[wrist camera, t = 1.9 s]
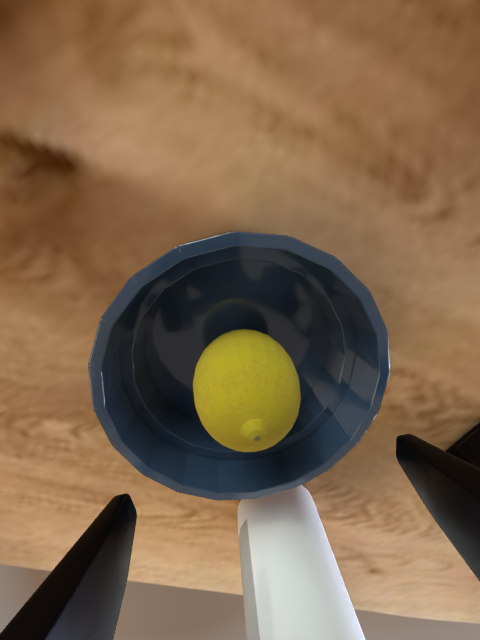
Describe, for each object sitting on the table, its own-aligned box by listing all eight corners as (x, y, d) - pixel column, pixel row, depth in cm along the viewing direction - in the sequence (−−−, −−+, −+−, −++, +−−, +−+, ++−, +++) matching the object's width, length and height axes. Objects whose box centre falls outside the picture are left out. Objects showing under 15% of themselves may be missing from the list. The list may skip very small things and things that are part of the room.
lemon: (213, 395, 18) (210, 507, 10) (187, 326, 16) (161, 401, 9) (285, 373, 18) (336, 469, 10) (267, 302, 16) (312, 355, 9)
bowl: (384, 333, 18) (444, 365, 13) (249, 467, 21) (259, 533, 16) (222, 178, 14) (225, 146, 9) (81, 367, 17) (27, 417, 12)
